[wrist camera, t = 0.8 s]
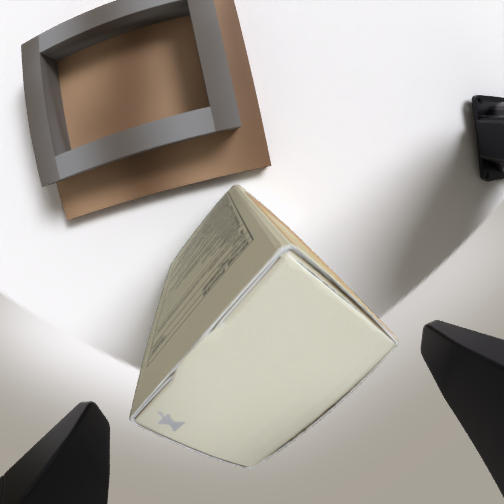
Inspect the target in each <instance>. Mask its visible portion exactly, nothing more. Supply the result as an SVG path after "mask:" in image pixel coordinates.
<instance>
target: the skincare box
mask: <svg viewBox="0 0 504 504" xmlns="http://www.w3.org/2000/svg"><path fill="white" fill-rule="evenodd" d="M398 343H399V342H398V339H397V338H396V336H395V335H394V334H393V333H392V332H391V331H390V330H389V329H388V328H387V327H386V326H385V325H384V324H383V323H382V322H381V321H380V320H379V319H378V318H377V316H376V315H375V314H374V313H373V312H372V311H371V310H370V309H369V308H368V307H367V306H366V305H365V304H364V303H363V302H362V301H361V300H360V299H359V298H358V297H357V296H356V295H355V294H354V292H353V291H352V290H351V289H350V288H349V287H348V286H347V285H346V284H345V283H344V282H343V281H342V280H341V279H340V278H339V277H338V276H337V275H336V274H335V273H334V272H333V271H332V270H331V269H330V268H329V267H328V266H327V265H326V264H325V263H324V262H323V261H322V260H321V259H320V258H319V257H318V256H317V255H316V254H315V253H314V252H313V251H312V250H311V249H310V248H309V247H308V246H307V245H306V244H305V243H304V242H303V241H302V240H301V239H300V238H299V237H298V236H297V235H296V234H295V233H294V232H293V231H292V230H291V229H290V228H289V227H288V226H287V225H285V224H284V223H283V222H282V221H281V220H280V219H279V218H278V217H276V216H275V215H274V214H273V213H272V212H271V211H270V210H269V209H267V208H266V207H265V206H264V205H263V204H262V203H261V202H259V201H258V200H257V199H256V198H254V197H253V196H252V195H251V194H250V193H248V192H247V191H246V190H245V189H243V188H242V187H241V186H239V185H233V186H232V187H231V189H230V190H229V191H228V192H227V193H226V194H225V195H224V196H223V198H222V199H221V200H220V201H219V202H218V203H217V205H216V206H215V207H214V208H213V209H212V211H211V212H210V213H209V214H208V215H207V217H206V218H205V219H204V220H203V222H202V223H201V224H200V226H199V227H198V228H197V229H196V231H195V232H194V233H193V235H192V236H191V237H190V239H189V240H188V241H187V243H186V244H185V245H184V247H183V248H182V249H181V251H180V252H179V254H178V255H177V256H176V258H175V259H174V261H173V262H172V264H171V267H170V270H169V273H168V276H167V279H166V283H165V286H164V289H163V293H162V296H161V299H160V303H159V306H158V309H157V313H156V316H155V320H154V323H153V326H152V330H151V333H150V337H149V340H148V344H147V348H146V352H145V355H144V359H143V363H142V366H141V371H140V375H139V379H138V383H137V387H136V391H135V395H134V400H133V404H132V409H131V413H130V418H129V419H130V421H131V422H132V423H134V424H136V425H137V426H139V427H142V428H144V429H146V430H148V431H151V432H153V433H155V434H157V435H159V436H160V437H162V438H165V439H167V440H170V441H171V442H174V443H176V444H178V445H181V446H183V447H185V448H188V449H190V450H193V451H195V452H198V453H200V454H203V455H206V456H208V457H211V458H214V459H216V460H219V461H223V462H225V463H229V464H233V465H236V466H240V467H243V468H246V469H252V468H254V467H256V466H258V465H259V464H260V463H262V462H264V461H265V460H267V459H268V458H270V457H272V456H273V455H274V454H276V453H278V452H279V451H280V450H282V449H283V448H285V447H286V446H288V445H289V444H290V443H291V442H293V441H295V440H296V439H297V438H298V437H299V436H301V435H302V434H304V433H305V432H306V431H307V430H308V429H310V428H311V427H312V426H313V425H315V424H316V423H317V422H318V421H320V420H321V419H322V418H323V417H324V416H326V415H327V414H328V413H329V412H330V411H332V410H333V409H334V408H335V407H336V406H337V405H338V404H340V403H341V402H342V401H343V400H344V399H345V398H346V397H347V396H348V395H349V394H350V393H352V392H353V391H354V390H355V389H356V388H357V387H358V386H359V385H360V384H361V383H362V382H363V381H364V380H365V379H366V378H367V377H368V376H369V375H370V374H371V373H372V372H373V371H374V370H375V369H376V368H377V367H378V366H379V365H380V364H381V363H382V361H383V360H384V359H385V358H386V357H387V356H388V355H389V354H390V353H391V352H392V351H393V350H394V349H395V348H396V347H397V345H398Z"/></svg>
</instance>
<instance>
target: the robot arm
mask: <svg viewBox="0 0 504 504" xmlns="http://www.w3.org/2000/svg"><path fill="white" fill-rule="evenodd" d="M472 105H473V111H474V118H475V125H476V133H477V142H478V153H479V167H480V178H481V179H482V180H483V181H493V180H498V179H503V178H504V98H502V97H493V96H482V95H475V96H473V97H472ZM485 174H486V176H485ZM421 354H422V356H423V358H424V360H425V362H426V364H427V366H428V368H429V370H430V371H431V373H432V375H433V377H434V379H435V381H436V383H437V385H438V387H439V389H440V391H441V393H442V395H443V396H444V398H445V400H446V401H447V403H448V404H449V406H450V408H451V409H452V410H453V412H454V414H455V415H456V417H457V418H458V420H459V421H460V423H461V425H462V426H463V428H464V429H465V431H466V433H467V434H468V436H469V437H470V439H471V441H472V443H473V444H474V446H475V447H476V449H477V451H478V452H479V454H480V456H481V458H482V459H483V461H484V463H485V464H486V466H487V468H488V470H489V471H490V473H491V475H492V477H493V479H494V480H495V482H496V484H497V486H498V488H499V490H500V491H501V493H502V495H503V497H504V340H502V339H499V338H496V337H493V336H489V335H486V334H482V333H479V332H476V331H472V330H469V329H466V328H462V327H459V326H456V325H452V324H449V323H445V322H443V321H439V320H435V321H433V322H430V323H428V324H426V325H425V326H424V328H423V334H422V342H421ZM109 450H110V426H109V422H108V420H107V419H106V417H105V416H104V415H103V413H102V412H101V410H100V409H99V407H98V406H97V405H96V403H94V402H92V401H90V402H81V403H79V404H78V405H77V406H76V407H75V408H74V409H73V410H72V411H70V412H69V413H68V414H67V415H66V416H65V417H64V418H63V419H62V420H61V421H60V422H59V423H58V424H57V425H55V426H54V427H53V428H52V429H51V430H50V431H49V432H48V433H47V434H46V435H45V436H44V437H43V438H42V439H41V440H40V441H38V442H37V443H36V444H35V445H34V446H33V447H32V448H31V449H30V450H29V451H28V452H27V453H26V454H25V455H24V456H23V457H22V458H21V459H19V460H18V461H17V462H16V463H15V464H14V465H13V466H12V467H11V468H10V469H9V470H8V471H7V472H6V473H5V474H4V476H1V477H0V504H107V502H108V488H109V475H110V451H109Z"/></svg>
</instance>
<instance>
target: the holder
mask: <svg viewBox="0 0 504 504" xmlns="http://www.w3.org/2000/svg"><path fill="white" fill-rule="evenodd" d="M21 51H22V68H23V81H24V91H25V99H26V107H27V114H28V121H29V127H30V133H31V138H32V144H33V149H34V154H35V158H36V163H37V167H38V172H39V176H40V180H41V184H42V187H43V186H46V185H50V184H53V183H57V187H58V190H59V194H60V198H61V201H62V205H63V208H64V212H65V215H66V218H67V220H70V219H73V218H76V217H79V216H82V215H85V214H88V213H91V212H94V211H97V210H101V209H104V208H107V207H110V206H113V205H117V204H120V203H123V202H127V201H130V200H133V199H137V198H140V197H144V196H147V195H151V194H155V193H158V192H162V191H166V190H169V189H173V188H177V187H181V186H185V185H188V184H192V183H196V182H200V181H205V180H209V179H213V178H217V177H221V176H226V175H230V174H234V173H239V172H243V171H248V170H253V169H257V168H262V167H267V166H271V162H270V157H269V152H268V147H267V142H266V138H265V133H264V128H263V123H262V119H261V114H260V109H259V105H258V100H257V96H256V91H255V87H254V82H253V78H252V74H251V69H250V65H249V61H248V56H247V52H246V48H245V44H244V40H243V36H242V31H241V27H240V23H239V19H238V15H237V11H236V7H235V4H234V0H116V1H113V2H111V3H108V4H105V5H103V6H100V7H97V8H95V9H93V10H90V11H88V12H85V13H83V14H81V15H78V16H76V17H74V18H72V19H70V20H67V21H65V22H63V23H61V24H59V25H57V26H55V27H53V28H51V29H49V30H47V31H45V32H44V33H42V34H40V35H38V36H36V37H34V38H33V39H31V40H29V41H27V42H26V43H24V44H22V45H21Z"/></svg>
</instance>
